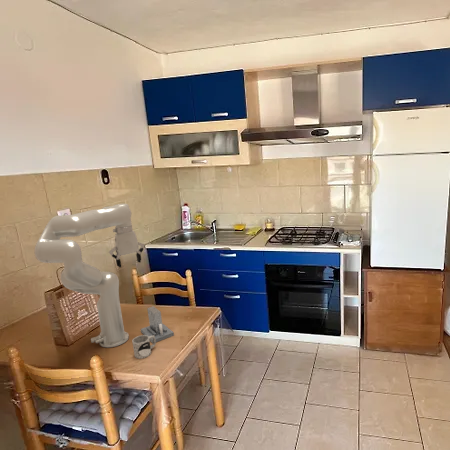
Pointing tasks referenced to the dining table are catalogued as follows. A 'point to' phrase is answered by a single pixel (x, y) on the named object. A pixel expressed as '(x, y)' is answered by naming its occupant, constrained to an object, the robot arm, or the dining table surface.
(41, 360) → the dining table surface
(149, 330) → the grey peg stand
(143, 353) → the mug
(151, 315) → the block
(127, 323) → the dining table surface
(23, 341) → the dining table surface
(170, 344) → the dining table surface
